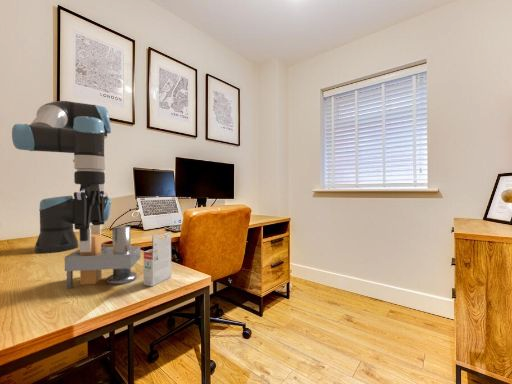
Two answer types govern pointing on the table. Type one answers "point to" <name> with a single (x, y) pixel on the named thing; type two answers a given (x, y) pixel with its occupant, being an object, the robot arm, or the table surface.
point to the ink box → (158, 260)
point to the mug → (107, 244)
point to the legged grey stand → (107, 259)
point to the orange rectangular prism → (92, 275)
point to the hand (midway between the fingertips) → (90, 248)
